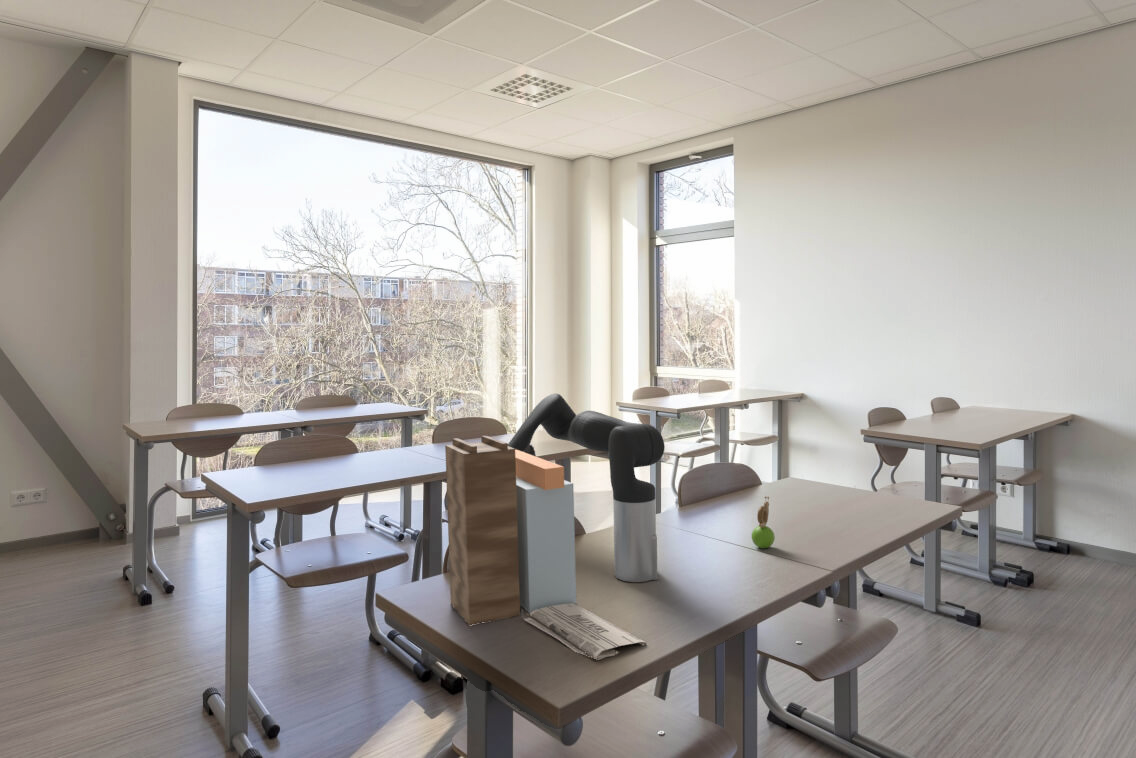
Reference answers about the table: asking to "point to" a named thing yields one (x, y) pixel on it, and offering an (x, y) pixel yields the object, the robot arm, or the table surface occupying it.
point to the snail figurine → (763, 528)
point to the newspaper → (581, 630)
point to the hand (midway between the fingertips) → (513, 450)
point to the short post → (545, 545)
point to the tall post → (482, 529)
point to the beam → (539, 471)
